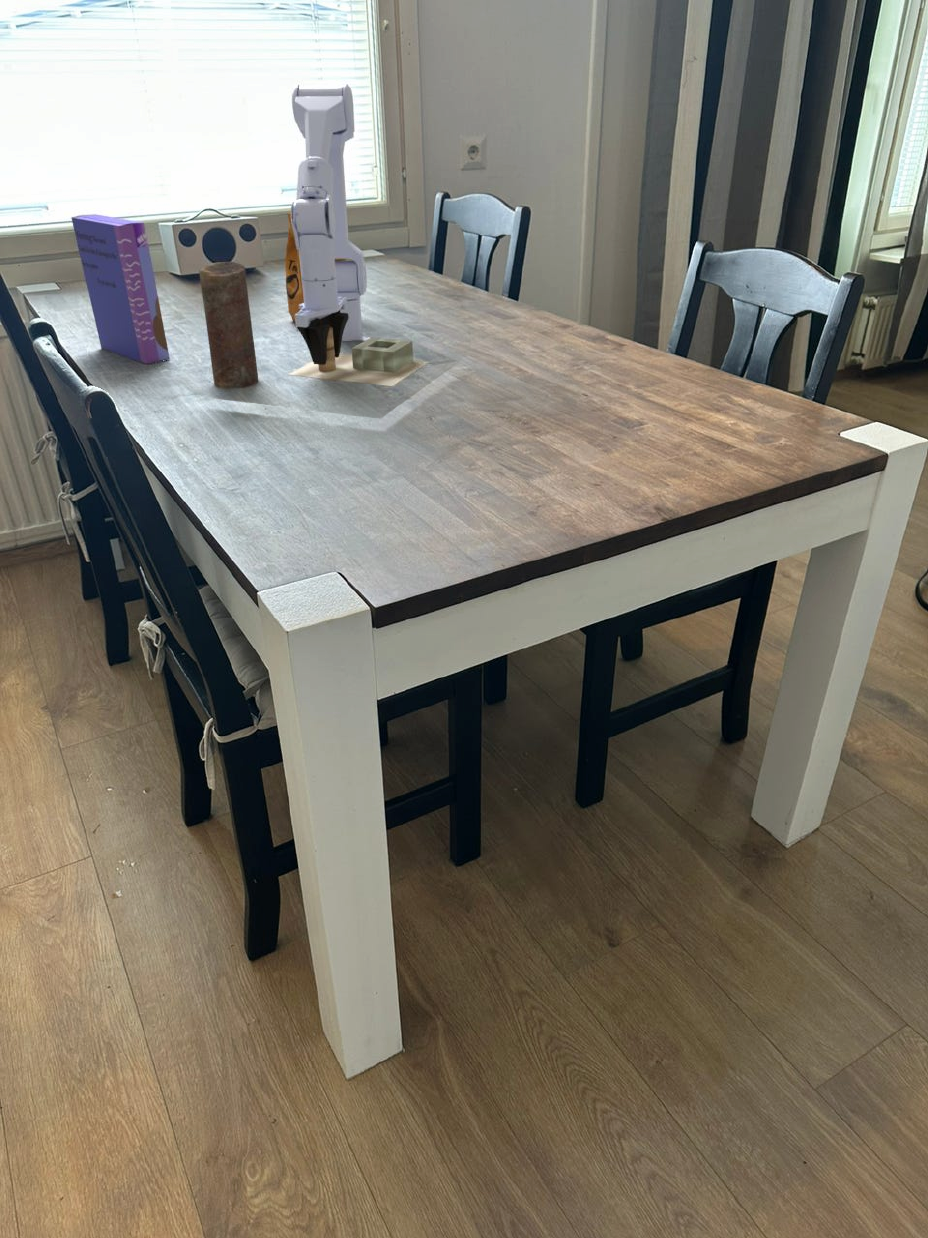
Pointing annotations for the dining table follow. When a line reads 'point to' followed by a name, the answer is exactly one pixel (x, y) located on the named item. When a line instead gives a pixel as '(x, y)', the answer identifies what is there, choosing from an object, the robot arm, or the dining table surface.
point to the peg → (329, 354)
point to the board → (357, 373)
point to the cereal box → (121, 287)
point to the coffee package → (294, 274)
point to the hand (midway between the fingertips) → (326, 360)
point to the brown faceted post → (229, 325)
